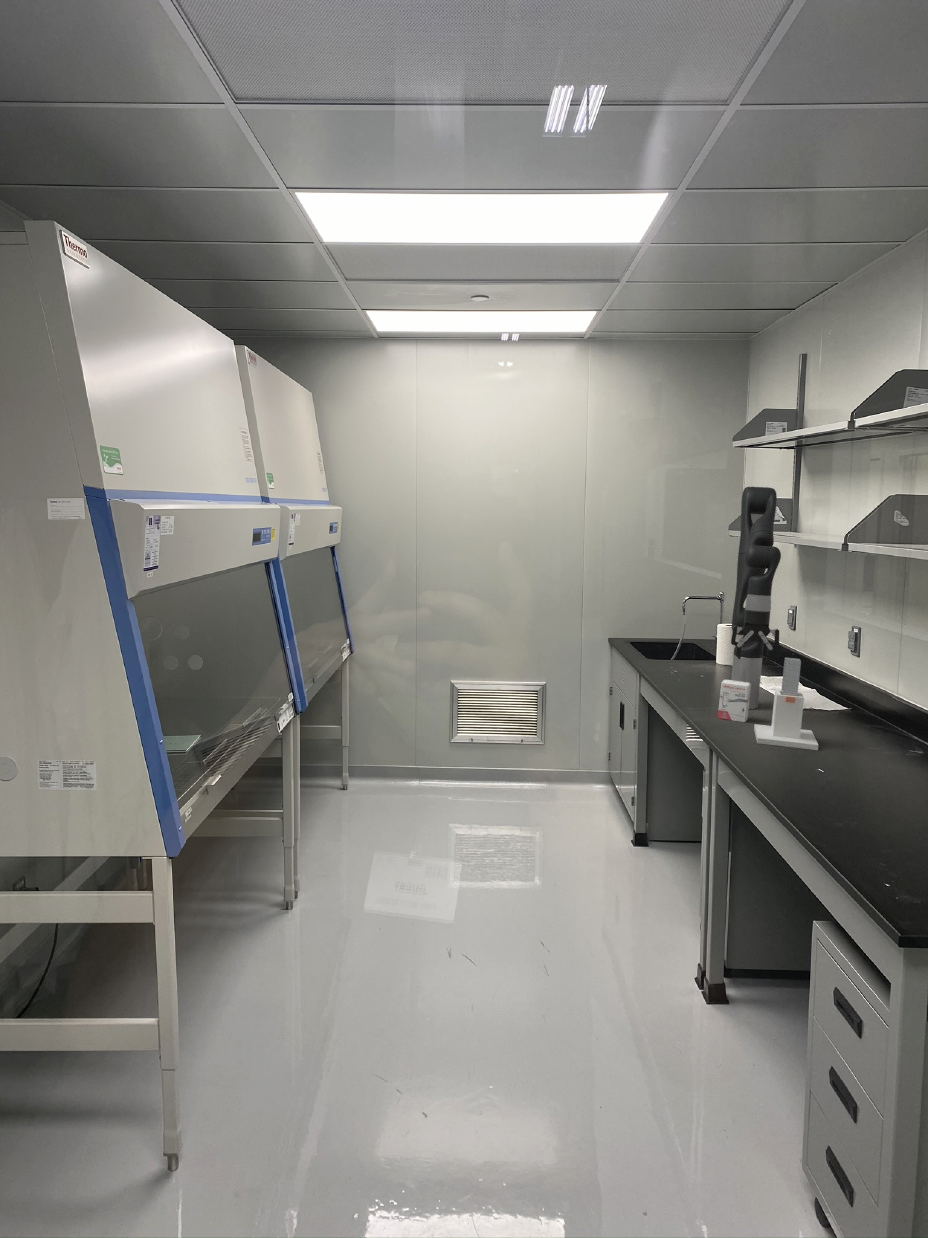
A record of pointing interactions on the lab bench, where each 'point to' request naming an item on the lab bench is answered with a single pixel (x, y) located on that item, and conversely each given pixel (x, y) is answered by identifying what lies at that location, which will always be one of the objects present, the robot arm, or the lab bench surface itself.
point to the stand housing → (786, 724)
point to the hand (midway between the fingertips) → (753, 660)
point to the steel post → (791, 676)
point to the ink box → (734, 700)
